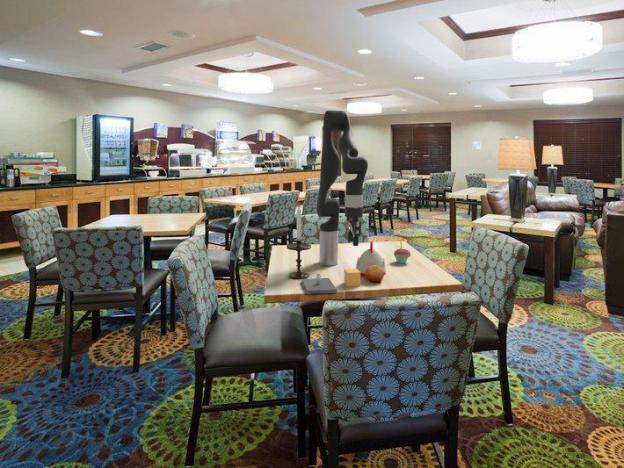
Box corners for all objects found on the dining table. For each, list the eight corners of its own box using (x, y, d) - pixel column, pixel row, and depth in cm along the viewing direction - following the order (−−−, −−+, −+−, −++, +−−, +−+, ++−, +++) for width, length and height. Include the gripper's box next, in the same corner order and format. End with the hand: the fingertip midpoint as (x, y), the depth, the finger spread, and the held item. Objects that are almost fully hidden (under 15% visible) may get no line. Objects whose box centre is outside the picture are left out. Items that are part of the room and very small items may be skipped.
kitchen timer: (384, 269, 208) (385, 239, 205) (386, 278, 195) (387, 245, 192) (355, 269, 210) (356, 238, 207) (355, 277, 196) (356, 245, 193)
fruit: (381, 274, 196) (383, 261, 191) (383, 287, 190) (386, 275, 185) (363, 274, 196) (365, 261, 190) (365, 287, 190) (367, 275, 184)
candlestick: (308, 280, 190) (308, 201, 184) (284, 279, 192) (283, 201, 186) (312, 273, 201) (313, 198, 194) (290, 272, 203) (289, 198, 196)
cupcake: (390, 260, 225) (391, 238, 223) (404, 259, 228) (406, 237, 225) (398, 264, 217) (399, 241, 215) (413, 263, 220) (414, 240, 217)
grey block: (301, 282, 188) (301, 268, 187) (328, 281, 190) (328, 267, 189) (307, 294, 172) (307, 279, 171) (336, 292, 174) (336, 278, 173)
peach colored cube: (344, 282, 188) (344, 269, 187) (356, 281, 189) (356, 268, 188) (347, 286, 182) (347, 272, 181) (360, 285, 183) (360, 272, 182)
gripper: (341, 203, 185) (340, 240, 188) (349, 207, 172) (348, 247, 175) (357, 203, 187) (357, 240, 190) (367, 207, 173) (366, 247, 176)
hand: (353, 243), depth 182 cm, fingers open, 8 cm apart
